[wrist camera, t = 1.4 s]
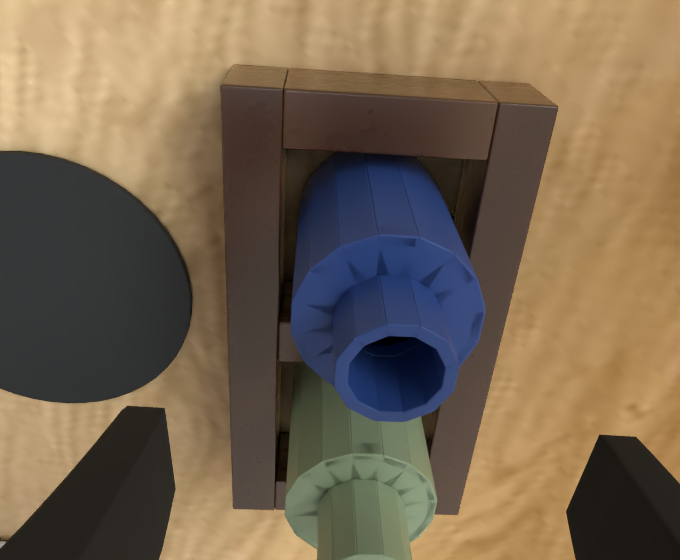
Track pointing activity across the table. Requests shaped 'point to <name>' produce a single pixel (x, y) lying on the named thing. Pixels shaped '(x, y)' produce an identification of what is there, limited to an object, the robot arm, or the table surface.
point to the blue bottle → (382, 286)
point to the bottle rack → (373, 138)
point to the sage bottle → (354, 477)
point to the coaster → (83, 284)
